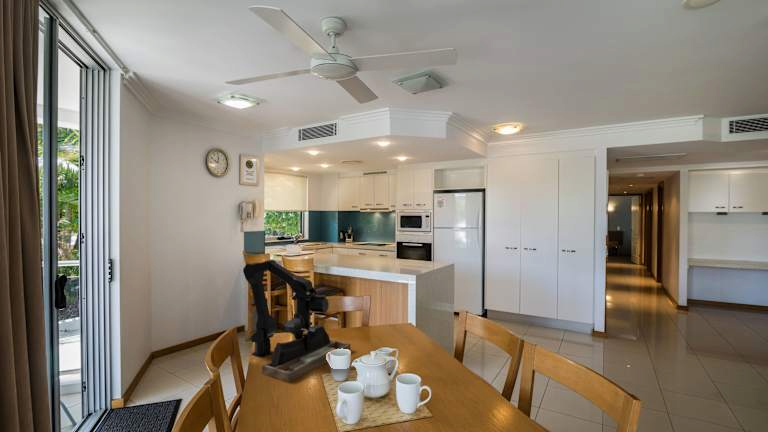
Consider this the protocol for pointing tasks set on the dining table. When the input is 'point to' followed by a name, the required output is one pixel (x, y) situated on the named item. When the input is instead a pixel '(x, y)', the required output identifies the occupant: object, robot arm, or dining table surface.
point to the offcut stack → (310, 358)
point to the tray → (282, 373)
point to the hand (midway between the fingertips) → (303, 348)
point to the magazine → (297, 348)
